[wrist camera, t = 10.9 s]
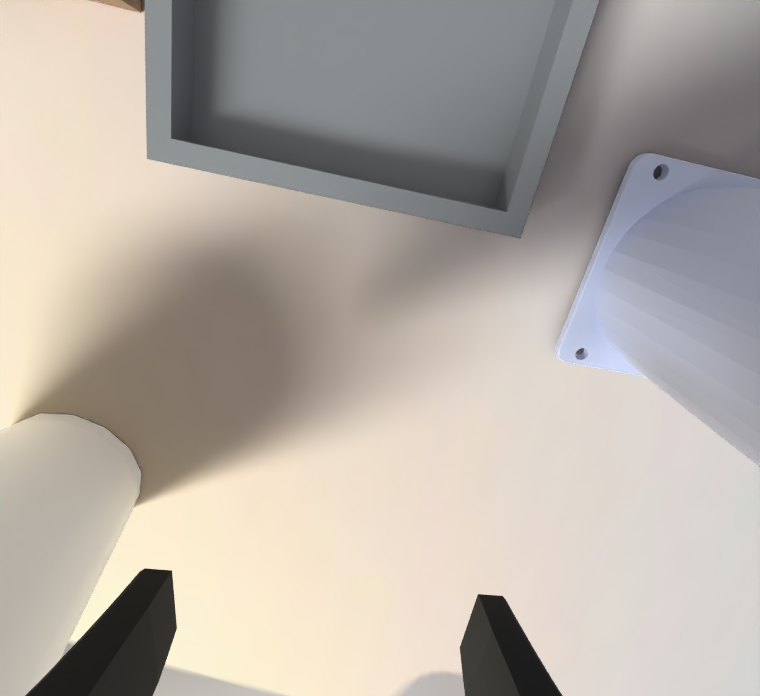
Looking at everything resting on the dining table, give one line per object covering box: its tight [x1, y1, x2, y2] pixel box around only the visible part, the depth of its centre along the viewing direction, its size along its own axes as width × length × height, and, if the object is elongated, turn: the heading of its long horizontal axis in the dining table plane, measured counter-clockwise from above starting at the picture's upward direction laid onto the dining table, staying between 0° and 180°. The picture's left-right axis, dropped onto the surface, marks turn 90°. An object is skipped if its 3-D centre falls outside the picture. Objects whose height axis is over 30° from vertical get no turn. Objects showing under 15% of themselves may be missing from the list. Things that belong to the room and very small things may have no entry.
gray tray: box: [145, 0, 599, 238], centre depth 12 cm, size 12×9×2 cm
